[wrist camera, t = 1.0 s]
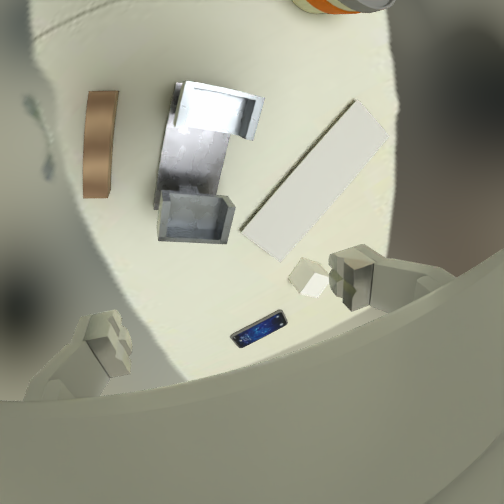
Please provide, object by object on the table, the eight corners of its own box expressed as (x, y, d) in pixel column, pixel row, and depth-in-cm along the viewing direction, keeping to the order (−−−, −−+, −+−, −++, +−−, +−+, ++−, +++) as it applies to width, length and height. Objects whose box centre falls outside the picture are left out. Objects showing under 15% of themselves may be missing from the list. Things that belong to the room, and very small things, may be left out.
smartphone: (288, 324, 73) (240, 349, 73) (287, 321, 74) (239, 347, 73) (282, 309, 69) (229, 337, 68) (280, 307, 69) (228, 334, 69)
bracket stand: (175, 82, 34) (184, 78, 25) (238, 94, 38) (267, 96, 29) (153, 206, 44) (156, 242, 35) (210, 210, 48) (227, 245, 39)
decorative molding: (238, 224, 55) (275, 252, 59) (240, 233, 51) (280, 262, 55) (346, 101, 48) (377, 135, 51) (357, 99, 43) (389, 136, 47)
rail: (94, 91, 31) (88, 91, 27) (119, 91, 32) (115, 90, 29) (88, 189, 38) (83, 198, 35) (110, 189, 40) (107, 198, 37)
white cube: (319, 263, 65) (332, 278, 61) (305, 282, 67) (317, 298, 63) (301, 256, 62) (314, 272, 57) (287, 277, 64) (299, 294, 59)
